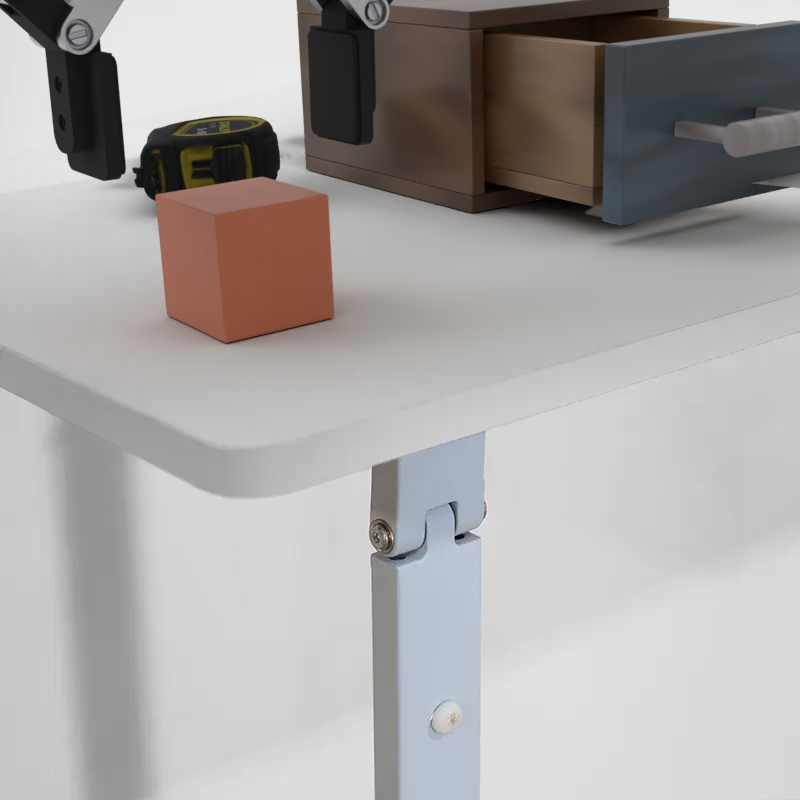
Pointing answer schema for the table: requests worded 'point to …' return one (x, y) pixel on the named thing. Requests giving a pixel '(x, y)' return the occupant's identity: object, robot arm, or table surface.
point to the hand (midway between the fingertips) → (225, 156)
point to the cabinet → (435, 97)
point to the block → (246, 257)
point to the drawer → (641, 111)
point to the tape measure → (207, 154)
